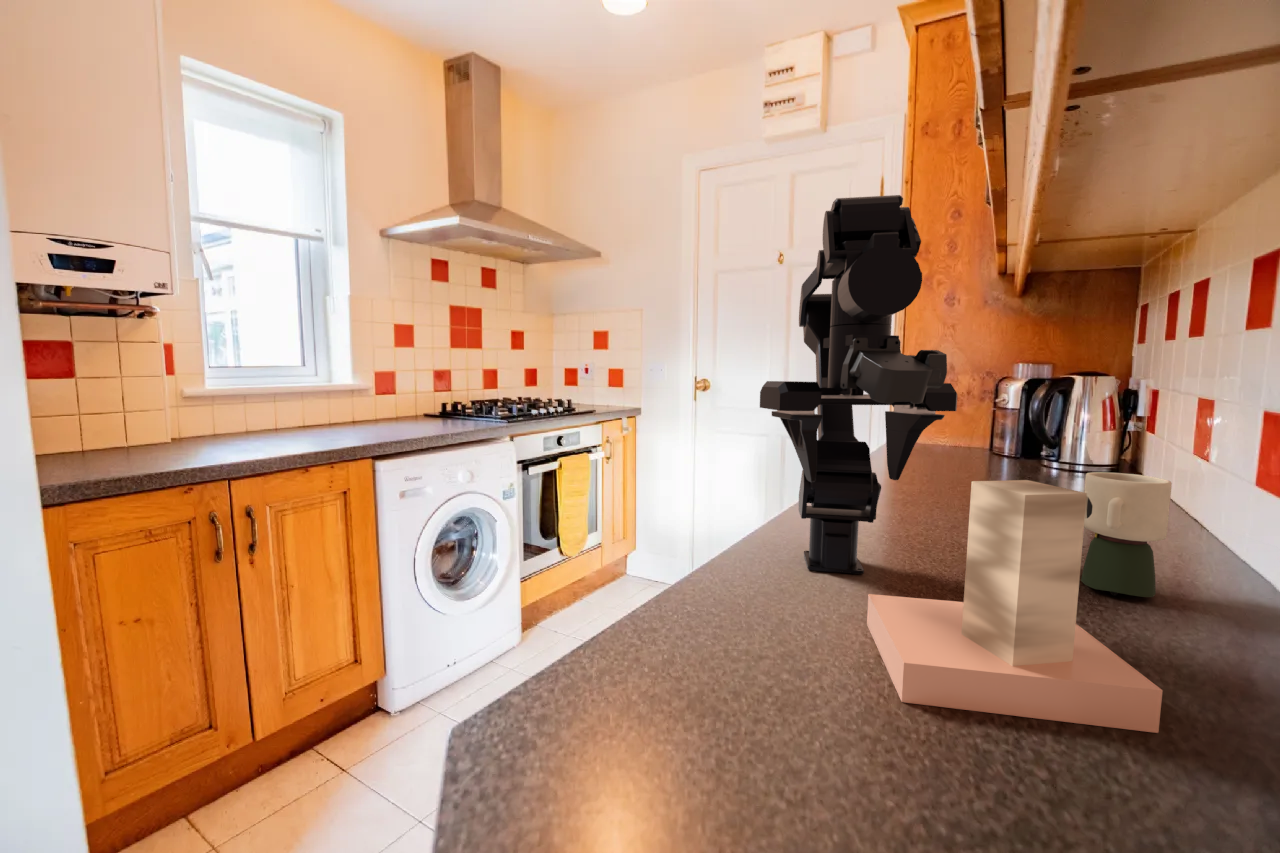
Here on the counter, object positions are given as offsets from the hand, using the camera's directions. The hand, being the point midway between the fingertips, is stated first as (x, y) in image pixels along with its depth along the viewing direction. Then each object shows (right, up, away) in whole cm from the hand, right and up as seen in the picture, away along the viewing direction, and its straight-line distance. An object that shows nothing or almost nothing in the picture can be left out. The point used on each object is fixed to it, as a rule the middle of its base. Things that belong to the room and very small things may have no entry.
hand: (853, 480), depth 57 cm
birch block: (+7, -11, -14) cm, 20 cm away
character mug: (+31, -13, +5) cm, 34 cm away
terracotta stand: (+6, -14, -12) cm, 20 cm away
